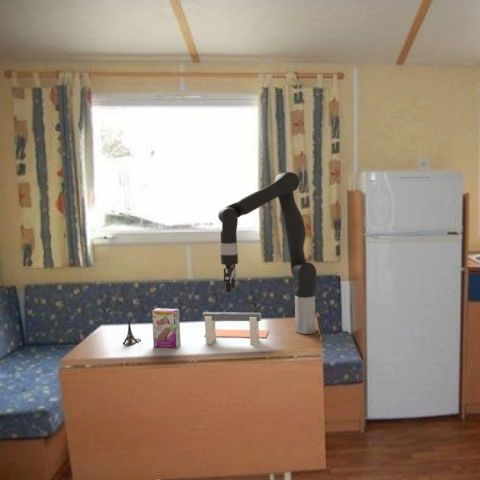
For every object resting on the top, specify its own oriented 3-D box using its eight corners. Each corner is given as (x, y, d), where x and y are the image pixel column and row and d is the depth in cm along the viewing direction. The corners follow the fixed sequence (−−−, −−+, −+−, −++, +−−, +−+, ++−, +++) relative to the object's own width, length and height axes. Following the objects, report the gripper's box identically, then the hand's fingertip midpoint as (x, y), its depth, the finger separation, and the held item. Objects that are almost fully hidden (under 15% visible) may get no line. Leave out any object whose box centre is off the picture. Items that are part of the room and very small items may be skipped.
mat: (268, 331, 195) (268, 330, 195) (266, 338, 186) (266, 337, 186) (209, 330, 201) (209, 329, 201) (204, 336, 191) (204, 335, 191)
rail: (261, 319, 181) (260, 312, 181) (260, 321, 178) (260, 314, 178) (204, 318, 186) (204, 312, 185) (202, 320, 183) (202, 313, 182)
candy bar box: (153, 347, 180) (151, 310, 178) (158, 343, 184) (156, 307, 183) (176, 348, 176) (174, 311, 175) (181, 344, 181) (179, 308, 180)
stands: (259, 339, 184) (258, 313, 183) (257, 344, 178) (256, 317, 177) (209, 338, 188) (208, 313, 187) (205, 343, 182) (204, 317, 181)
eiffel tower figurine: (141, 349, 179) (139, 319, 178) (117, 351, 178) (115, 321, 176) (144, 338, 194) (142, 310, 193) (122, 340, 192) (120, 312, 191)
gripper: (234, 255, 172) (235, 293, 173) (240, 251, 185) (241, 286, 187) (217, 255, 173) (218, 293, 174) (224, 251, 187) (225, 286, 188)
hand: (230, 289), depth 181 cm, fingers open, 8 cm apart
